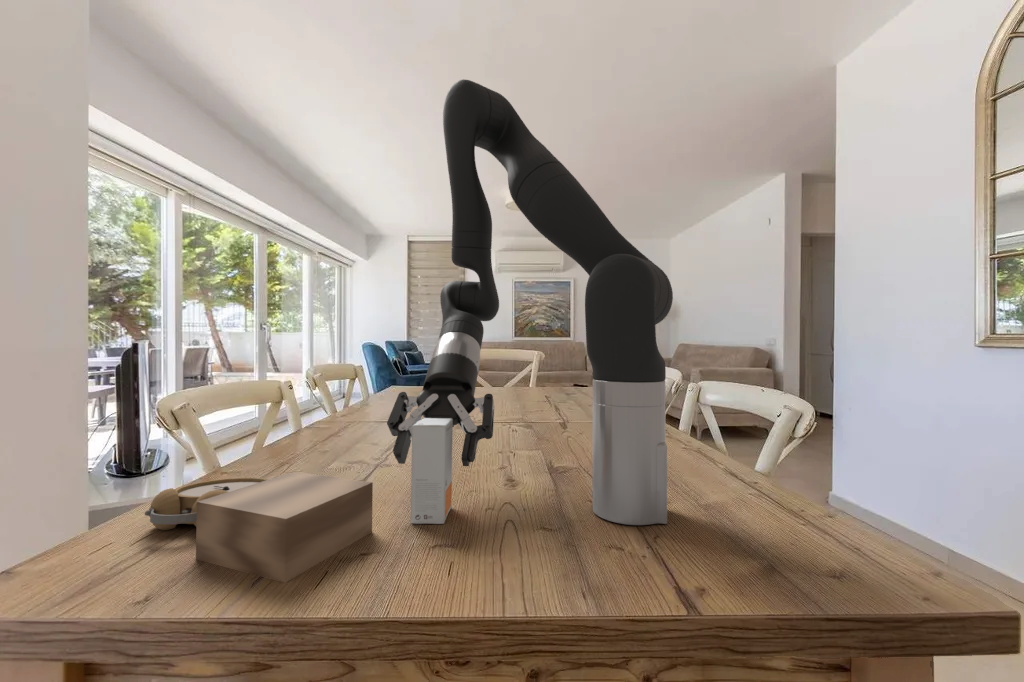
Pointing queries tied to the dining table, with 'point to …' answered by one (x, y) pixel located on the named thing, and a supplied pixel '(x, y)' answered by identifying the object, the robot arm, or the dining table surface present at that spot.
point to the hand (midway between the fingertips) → (432, 461)
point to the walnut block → (283, 524)
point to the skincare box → (431, 470)
